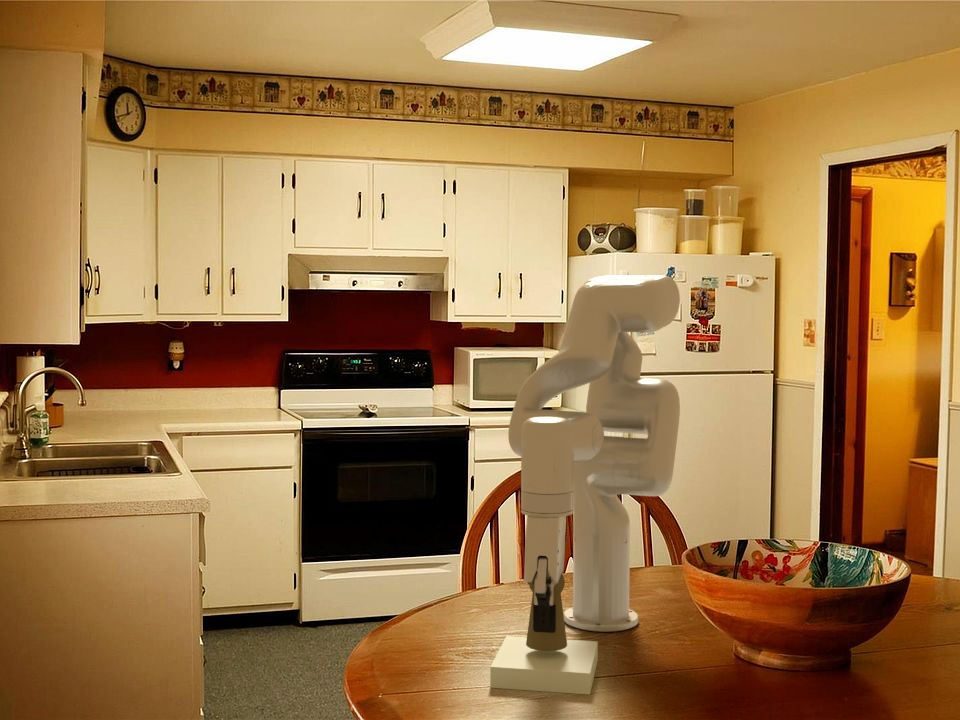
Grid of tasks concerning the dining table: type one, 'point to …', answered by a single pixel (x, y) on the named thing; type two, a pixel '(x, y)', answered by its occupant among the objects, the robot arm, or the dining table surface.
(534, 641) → the cork
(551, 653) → the cream block
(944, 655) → the dining table surface
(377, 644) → the dining table surface
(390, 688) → the dining table surface
